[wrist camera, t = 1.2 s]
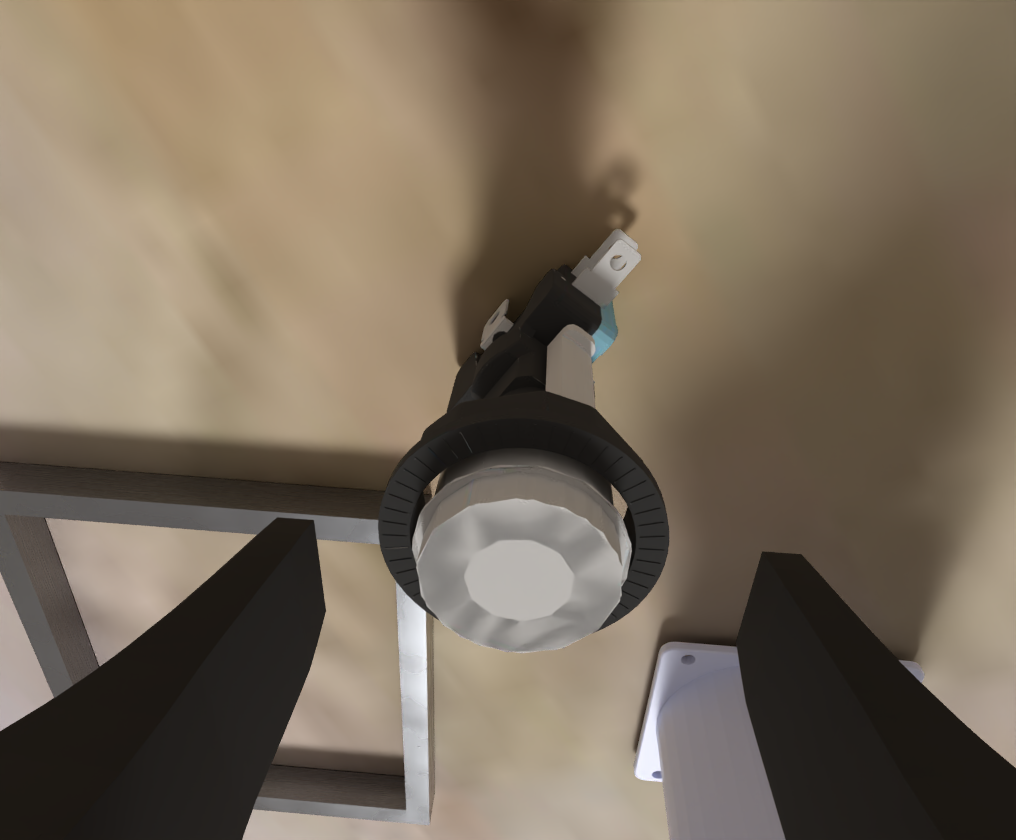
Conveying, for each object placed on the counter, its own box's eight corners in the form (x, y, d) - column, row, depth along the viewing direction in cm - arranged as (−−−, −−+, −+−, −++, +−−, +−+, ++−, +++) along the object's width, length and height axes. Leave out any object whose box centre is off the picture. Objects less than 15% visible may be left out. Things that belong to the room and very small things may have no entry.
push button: (551, 168, 18) (541, 322, 10) (701, 290, 20) (808, 518, 11) (411, 352, 21) (310, 593, 13) (550, 447, 23) (544, 722, 14)
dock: (431, 495, 24) (424, 523, 23) (434, 792, 33) (429, 825, 31) (-5, 461, 24) (-36, 487, 23) (113, 763, 33) (95, 794, 32)
